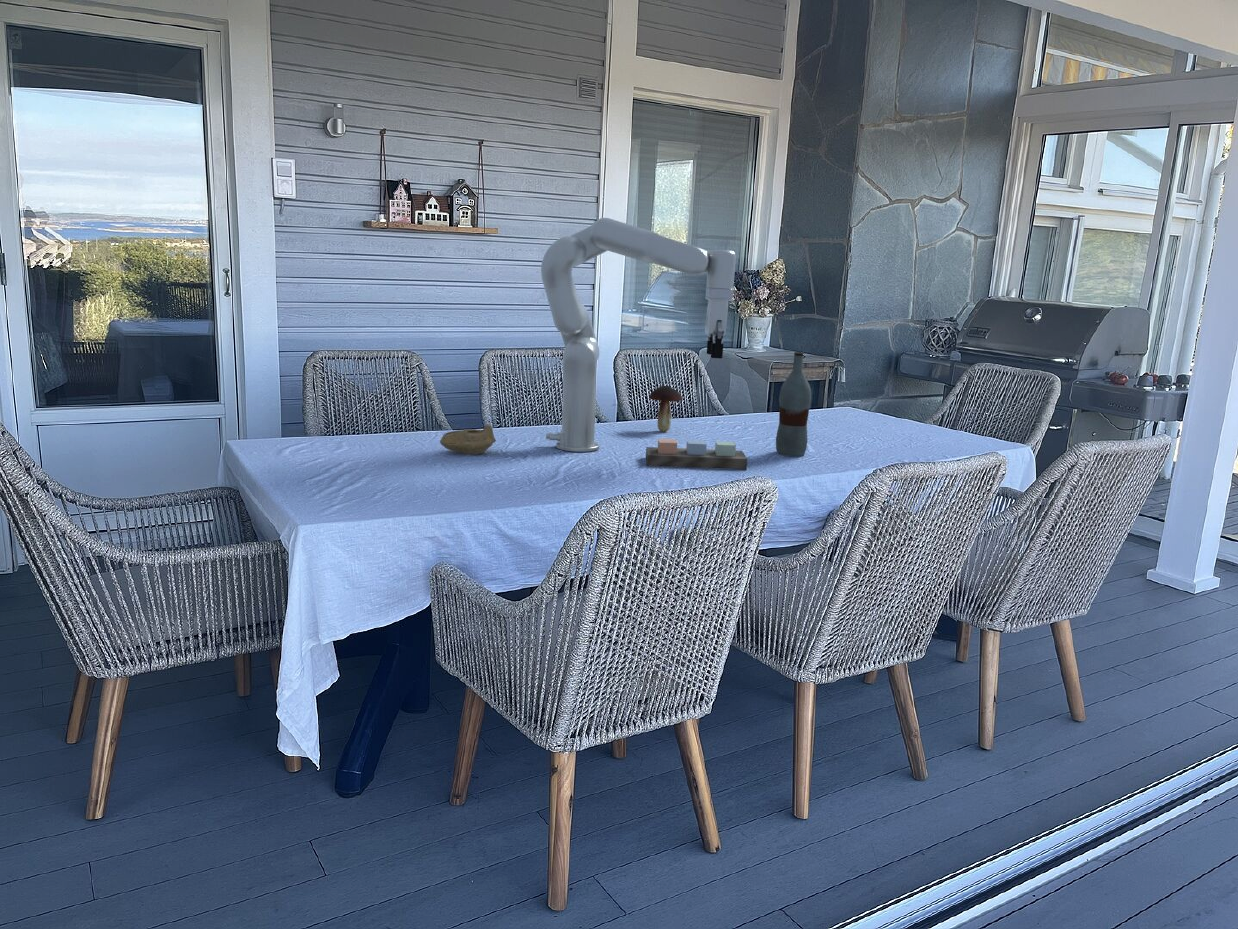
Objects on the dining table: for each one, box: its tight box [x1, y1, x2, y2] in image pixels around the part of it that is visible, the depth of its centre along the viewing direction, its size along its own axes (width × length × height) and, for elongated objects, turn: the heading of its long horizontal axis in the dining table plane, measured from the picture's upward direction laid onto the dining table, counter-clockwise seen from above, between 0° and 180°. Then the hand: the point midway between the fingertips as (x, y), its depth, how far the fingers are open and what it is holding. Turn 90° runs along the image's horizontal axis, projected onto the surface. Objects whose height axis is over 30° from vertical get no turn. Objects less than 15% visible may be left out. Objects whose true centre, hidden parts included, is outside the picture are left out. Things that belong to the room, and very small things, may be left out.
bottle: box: [775, 351, 812, 457], centre depth 283 cm, size 9×9×30 cm
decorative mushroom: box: [648, 385, 684, 433], centre depth 311 cm, size 11×11×15 cm
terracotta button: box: [657, 438, 678, 454], centre depth 266 cm, size 5×5×4 cm
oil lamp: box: [439, 424, 497, 456], centre depth 267 cm, size 11×15×8 cm
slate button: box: [685, 439, 707, 455], centre depth 266 cm, size 5×5×4 cm
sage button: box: [714, 440, 737, 456], centre depth 266 cm, size 5×5×4 cm
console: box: [645, 446, 748, 471], centre depth 267 cm, size 27×11×3 cm, turn 91°
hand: (714, 356), depth 273 cm, fingers open, 9 cm apart
